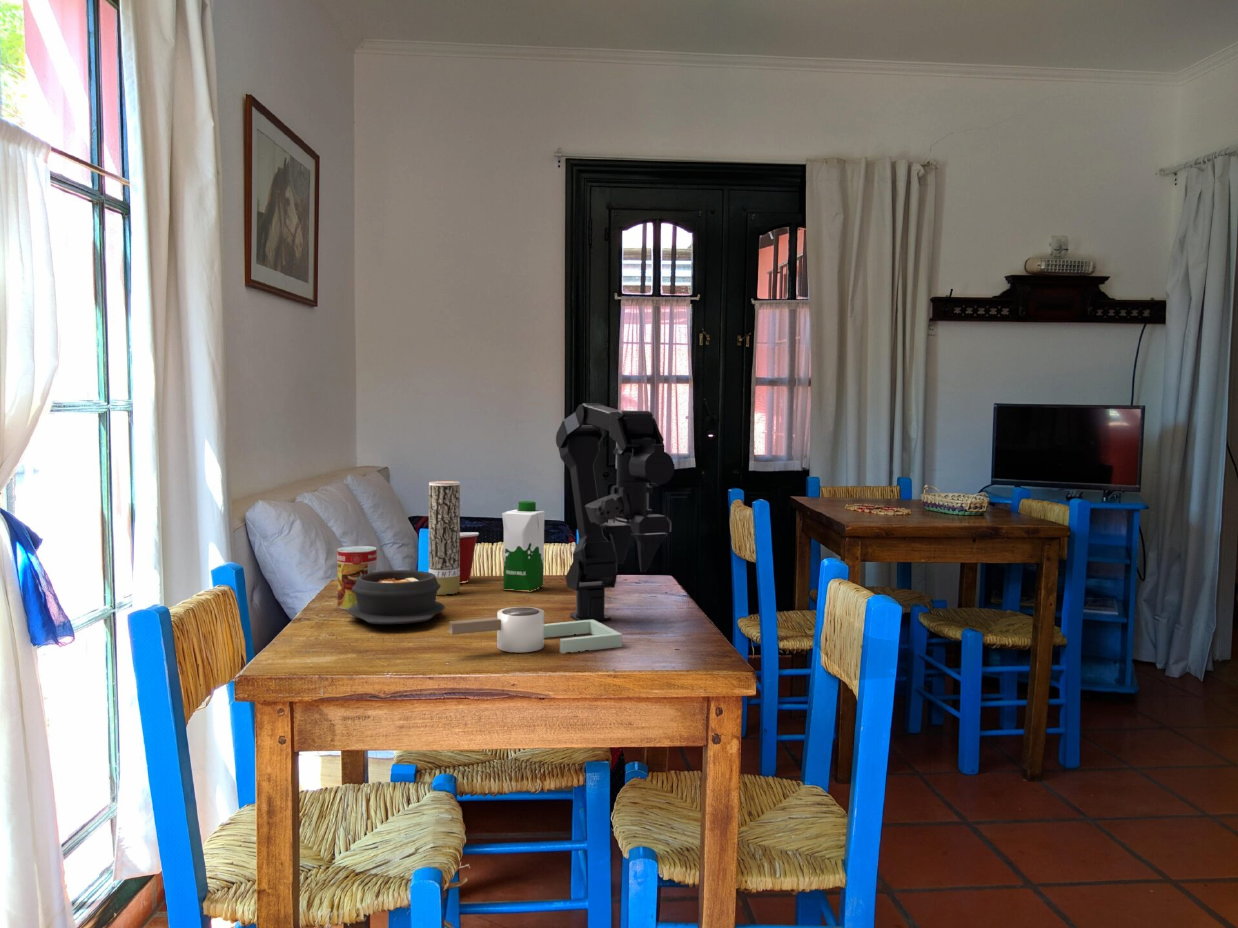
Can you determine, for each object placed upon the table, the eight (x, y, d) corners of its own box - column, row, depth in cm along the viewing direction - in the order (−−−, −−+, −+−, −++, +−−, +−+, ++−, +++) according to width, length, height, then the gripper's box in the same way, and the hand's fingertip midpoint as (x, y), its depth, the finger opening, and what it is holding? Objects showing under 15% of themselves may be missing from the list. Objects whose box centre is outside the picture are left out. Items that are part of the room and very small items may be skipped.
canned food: (342, 602, 190) (341, 546, 189) (379, 601, 191) (379, 545, 190) (333, 609, 182) (333, 551, 182) (373, 609, 183) (373, 551, 182)
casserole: (451, 630, 166) (451, 585, 166) (347, 636, 161) (346, 590, 160) (438, 603, 190) (438, 564, 190) (347, 607, 185) (347, 567, 184)
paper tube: (422, 592, 201) (422, 482, 199) (448, 589, 205) (448, 480, 204) (439, 597, 196) (439, 483, 194) (465, 593, 200) (465, 482, 199)
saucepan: (534, 640, 159) (534, 604, 159) (550, 651, 152) (550, 613, 152) (444, 649, 152) (444, 612, 152) (456, 661, 145) (457, 622, 145)
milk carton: (547, 586, 210) (548, 501, 209) (533, 593, 201) (533, 505, 200) (513, 584, 212) (513, 500, 211) (497, 591, 203) (497, 503, 202)
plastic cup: (458, 576, 222) (458, 528, 221) (488, 582, 215) (488, 532, 214) (423, 582, 213) (423, 532, 213) (453, 588, 206) (453, 536, 206)
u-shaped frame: (536, 636, 161) (536, 624, 161) (593, 630, 166) (593, 619, 166) (562, 653, 150) (562, 640, 150) (622, 646, 155) (622, 634, 155)
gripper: (570, 478, 164) (570, 562, 165) (614, 485, 147) (613, 579, 148) (625, 477, 169) (624, 558, 170) (673, 484, 152) (672, 574, 153)
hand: (631, 567), depth 160 cm, fingers open, 9 cm apart
